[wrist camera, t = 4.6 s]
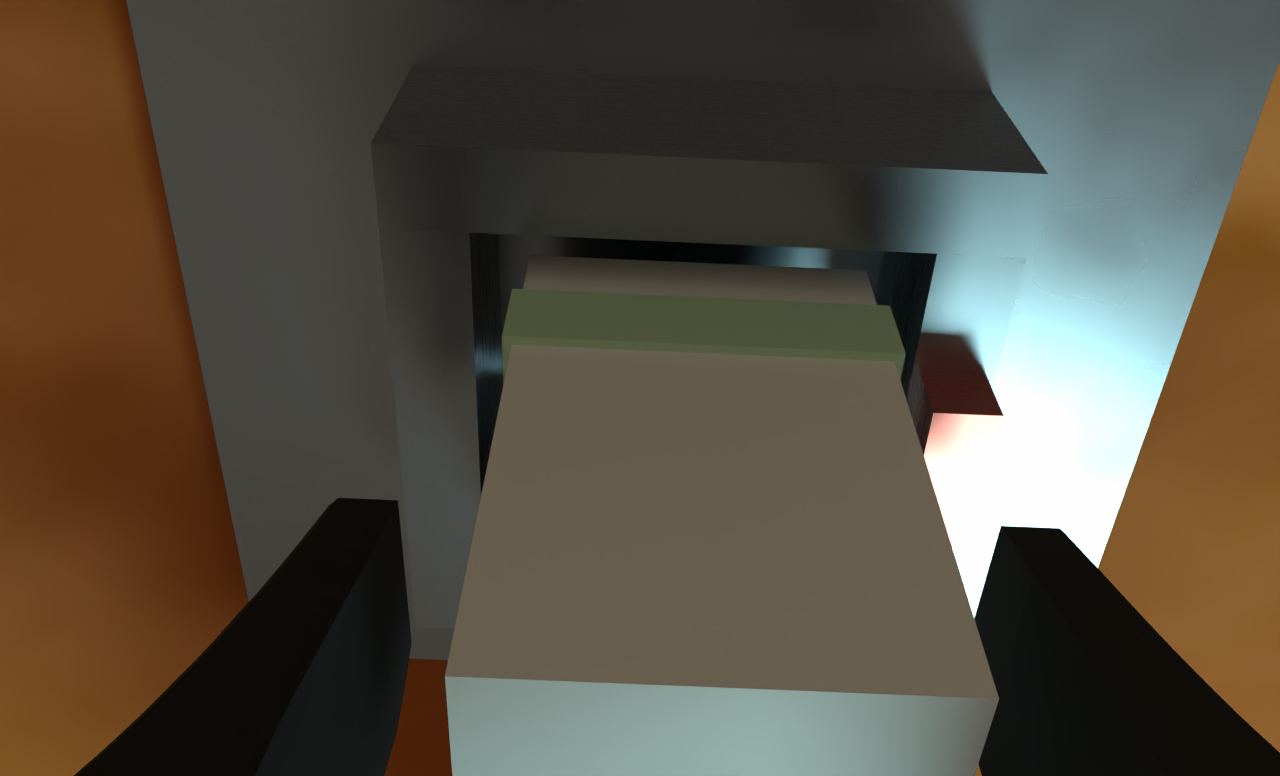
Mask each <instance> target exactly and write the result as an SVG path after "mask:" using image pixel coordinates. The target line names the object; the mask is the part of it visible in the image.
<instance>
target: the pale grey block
mask: <svg viewBox="0 0 1280 776" xmlns="http://www.w3.org/2000/svg"><path fill="white" fill-rule="evenodd" d="M905 355H906V353H905V350H904V347H903V344H902V341H901V338H900V335H899V332H898V329H897V326H896V323H895V320H894V317H893V314H892V311H891V308H890V306H887V305H877V303H876V300H875V297H874V294H873V290H872V287H871V284H870V281H869V278H868V274H867V271H866V270H848V269H826V268H803V267H781V266H759V265H737V264H715V263H693V262H670V261H648V260H626V259H604V258H582V257H559V256H537V255H530V256H529V261H528V266H527V271H526V276H525V281H524V286H523V289H512V292H511V296H510V301H509V305H508V310H507V315H506V319H505V324H504V328H503V333H502V358H503V390H502V395H501V400H500V405H499V410H498V415H497V420H496V425H495V430H494V435H493V440H492V445H491V450H490V455H489V460H488V465H487V470H486V475H485V480H484V485H483V490H482V495H481V500H480V504H479V509H478V514H477V519H476V524H475V529H474V534H473V539H472V544H471V549H470V554H469V559H468V564H467V569H466V574H465V579H464V584H463V589H462V594H461V599H460V604H459V609H458V614H457V619H456V624H455V629H454V634H453V639H452V644H451V649H450V653H449V658H448V663H447V668H446V673H445V685H446V698H447V711H448V724H449V737H450V751H451V764H452V776H975V773H976V769H977V766H978V763H979V760H980V757H981V754H982V751H983V748H984V745H985V741H986V738H987V735H988V732H989V729H990V726H991V723H992V720H993V717H994V713H995V710H996V707H997V704H998V701H999V697H998V693H997V690H996V687H995V684H994V681H993V677H992V674H991V671H990V668H989V664H988V661H987V658H986V655H985V652H984V648H983V645H982V642H981V639H980V635H979V632H978V629H977V626H976V623H975V619H974V616H973V613H972V610H971V606H970V603H969V600H968V597H967V594H966V590H965V587H964V584H963V581H962V577H961V574H960V571H959V568H958V565H957V561H956V558H955V555H954V552H953V548H952V545H951V542H950V539H949V536H948V532H947V529H946V526H945V523H944V519H943V516H942V513H941V510H940V506H939V503H938V500H937V497H936V494H935V490H934V487H933V484H932V481H931V477H930V474H929V471H928V468H927V465H926V461H925V458H924V455H923V452H922V448H921V445H920V442H919V439H918V436H917V432H916V429H915V426H914V423H913V419H912V416H911V413H910V410H909V407H908V403H907V400H906V397H905V394H904V390H903V387H902V384H901V381H900V379H901V374H902V369H903V365H904V360H905Z"/></svg>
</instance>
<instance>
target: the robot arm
mask: <svg viewBox="0 0 1280 776" xmlns="http://www.w3.org/2000/svg"><path fill="white" fill-rule="evenodd" d="M974 619H975V623H976V626H977V629H978V632H979V635H980V639H981V642H982V645H983V648H984V652H985V655H986V658H987V661H988V664H989V668H990V671H991V674H992V677H993V681H994V684H995V687H996V690H997V693H998V697H999V701H998V704H997V707H996V710H995V713H994V717H993V720H992V723H991V726H990V729H989V732H988V735H987V738H986V741H985V745H984V748H983V751H982V754H981V757H980V760H979V767H980V770H981V774H982V776H1280V753H1279V752H1278V751H1277V750H1276V749H1275V748H1274V747H1273V746H1272V745H1271V744H1270V743H1268V742H1267V741H1266V740H1265V739H1264V738H1263V737H1262V736H1261V735H1260V734H1259V733H1258V732H1257V731H1255V730H1254V729H1253V728H1252V727H1251V726H1250V725H1249V724H1248V723H1247V722H1246V721H1245V720H1244V719H1243V718H1241V717H1240V716H1239V715H1238V714H1237V713H1236V712H1235V711H1234V710H1233V709H1232V708H1231V707H1230V706H1229V705H1228V704H1227V703H1226V702H1225V701H1224V700H1223V699H1222V698H1221V697H1220V696H1219V695H1218V694H1217V693H1216V692H1215V691H1214V690H1213V689H1212V688H1211V687H1210V686H1209V685H1208V684H1207V683H1206V682H1205V681H1204V680H1203V679H1202V678H1201V677H1200V676H1199V675H1198V674H1197V673H1196V672H1195V671H1194V670H1193V669H1192V668H1191V667H1190V666H1189V665H1188V664H1187V663H1186V662H1185V661H1184V660H1183V659H1182V658H1181V657H1180V656H1179V655H1178V654H1177V653H1176V652H1175V651H1174V650H1173V649H1172V647H1171V646H1170V645H1169V644H1168V643H1167V642H1166V641H1165V640H1164V639H1163V638H1162V637H1161V636H1160V635H1159V634H1158V633H1157V632H1156V631H1155V630H1154V629H1153V628H1152V626H1151V625H1150V624H1149V623H1148V622H1147V621H1146V620H1145V619H1144V618H1143V617H1142V616H1141V615H1140V614H1139V612H1138V611H1137V610H1136V609H1135V608H1134V607H1133V606H1132V605H1131V604H1130V603H1129V602H1128V601H1127V600H1126V599H1125V597H1124V596H1123V595H1122V594H1121V593H1120V592H1119V591H1118V590H1117V589H1116V588H1115V587H1114V586H1113V584H1112V583H1111V582H1110V581H1109V580H1108V579H1107V578H1106V577H1105V576H1104V575H1103V574H1102V572H1101V571H1100V570H1099V569H1098V568H1097V567H1096V566H1095V565H1094V564H1093V563H1092V562H1091V560H1090V559H1089V558H1088V557H1087V556H1086V555H1085V554H1084V553H1083V552H1082V551H1081V550H1080V549H1079V548H1078V546H1077V545H1076V544H1075V543H1074V542H1073V541H1072V540H1071V539H1070V538H1069V537H1068V536H1067V535H1066V534H1065V533H1064V532H1063V531H1062V530H1061V529H1060V528H1040V527H1016V526H1001V527H1000V530H999V534H998V537H997V541H996V544H995V548H994V551H993V555H992V558H991V562H990V565H989V569H988V572H987V576H986V579H985V583H984V586H983V590H982V593H981V597H980V600H979V604H978V607H977V611H976V614H975V617H974ZM411 644H412V640H411V630H410V619H409V609H408V599H407V588H406V578H405V568H404V557H403V547H402V537H401V526H400V516H399V506H398V500H381V499H357V498H337V499H336V500H335V501H334V502H333V503H331V504H330V505H329V506H328V507H327V508H326V510H325V511H324V512H323V513H322V515H321V516H320V517H319V518H318V520H317V521H316V522H315V523H314V525H313V526H312V527H311V528H310V530H309V531H308V532H307V533H306V535H305V536H304V537H303V538H302V540H301V541H300V542H299V543H298V545H297V546H296V547H295V548H294V550H293V551H292V552H291V553H290V554H289V556H288V557H287V558H286V559H285V560H284V562H283V563H282V564H281V565H280V566H279V568H278V569H277V570H276V571H275V572H274V574H273V575H272V576H271V577H270V578H269V579H268V581H267V582H266V583H265V584H264V585H263V587H262V588H261V589H260V590H259V591H258V592H257V594H256V595H255V596H254V597H253V598H252V599H251V600H250V601H249V602H248V604H247V605H246V606H245V607H244V608H243V609H242V610H241V611H240V612H239V614H238V615H237V616H236V617H235V618H234V619H233V620H232V621H231V623H230V624H229V625H228V626H227V627H226V628H225V629H224V630H223V631H222V633H221V634H220V635H219V636H218V637H217V638H216V639H215V640H214V641H213V643H212V644H211V645H210V646H209V647H208V648H207V649H206V650H205V651H204V652H203V653H202V654H201V655H200V656H199V657H198V658H197V659H196V660H195V661H194V662H193V663H192V664H191V665H190V666H189V667H188V668H187V669H186V670H185V671H184V672H183V673H182V674H181V675H180V676H179V677H178V678H177V679H176V680H175V682H174V683H173V684H172V685H171V686H170V687H169V688H168V689H167V690H166V691H165V692H164V693H163V694H162V695H161V696H160V697H159V698H158V699H157V700H156V701H155V702H154V703H153V704H152V705H151V706H150V707H149V708H148V709H147V710H146V711H145V712H144V713H143V714H142V715H140V716H139V717H138V718H137V719H136V720H135V721H134V722H133V723H132V724H131V725H130V726H129V727H128V728H127V729H126V730H124V731H123V732H122V733H121V734H120V735H119V736H118V737H117V738H116V739H115V740H114V741H113V742H112V743H110V744H109V745H108V746H107V747H106V748H105V749H104V750H103V751H102V752H100V753H99V754H98V755H97V756H96V757H95V758H94V759H93V760H91V761H90V762H89V763H88V764H87V765H86V766H84V767H83V768H82V769H81V770H80V771H79V772H77V773H76V774H75V775H74V776H384V774H385V771H386V767H387V764H388V760H389V757H390V753H391V750H392V746H393V743H394V739H395V736H396V731H397V726H398V720H399V715H400V709H401V704H402V698H403V692H404V686H405V680H406V674H407V668H408V662H409V656H410V650H411Z"/></svg>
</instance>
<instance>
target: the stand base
mask: <svg viewBox="0 0 1280 776" xmlns="http://www.w3.org/2000/svg"><path fill="white" fill-rule="evenodd" d="M126 2H127V7H128V12H129V17H130V22H131V27H132V32H133V37H134V42H135V46H136V51H137V56H138V61H139V66H140V71H141V76H142V81H143V86H144V91H145V96H146V100H147V105H148V110H149V115H150V120H151V125H152V130H153V135H154V140H155V145H156V150H157V154H158V159H159V164H160V169H161V174H162V179H163V184H164V189H165V194H166V199H167V204H168V208H169V213H170V218H171V223H172V228H173V233H174V238H175V243H176V248H177V253H178V258H179V262H180V267H181V272H182V277H183V282H184V287H185V292H186V297H187V302H188V307H189V312H190V316H191V321H192V326H193V331H194V336H195V341H196V346H197V351H198V356H199V361H200V366H201V370H202V375H203V380H204V385H205V390H206V395H207V400H208V405H209V410H210V415H211V419H212V424H213V429H214V434H215V439H216V444H217V449H218V454H219V459H220V464H221V469H222V473H223V478H224V483H225V488H226V493H227V498H228V503H229V508H230V513H231V518H232V523H233V527H234V532H235V537H236V542H237V547H238V552H239V557H240V562H241V567H242V572H243V577H244V581H245V586H246V591H247V596H248V601H250V600H251V599H252V598H253V597H254V596H255V595H256V594H257V592H258V591H259V590H260V589H261V588H262V587H263V585H264V584H265V583H266V582H267V581H268V579H269V578H270V577H271V576H272V575H273V574H274V572H275V571H276V570H277V569H278V568H279V566H280V565H281V564H282V563H283V562H284V560H285V559H286V558H287V557H288V556H289V554H290V553H291V552H292V551H293V550H294V548H295V547H296V546H297V545H298V543H299V542H300V541H301V540H302V538H303V537H304V536H305V535H306V533H307V532H308V531H309V530H310V528H311V527H312V526H313V525H314V523H315V522H316V521H317V520H318V518H319V517H320V516H321V515H322V513H323V512H324V511H325V510H326V508H327V507H328V506H329V505H330V504H331V503H333V502H334V501H335V500H336V499H337V498H357V499H381V500H398V506H399V516H400V526H401V537H402V547H403V557H404V568H405V578H406V588H407V599H408V609H409V619H410V630H411V640H412V644H411V650H410V656H409V659H431V660H448V658H449V653H450V649H451V644H452V639H453V634H454V629H455V624H456V619H457V614H458V609H459V604H460V599H461V594H462V589H463V584H464V579H465V574H466V569H467V564H468V559H469V554H470V549H471V544H472V539H473V534H474V529H475V524H476V519H477V514H478V509H479V504H480V500H481V495H482V490H483V485H484V480H485V475H486V470H487V465H488V460H489V455H490V450H491V445H492V440H493V435H494V430H495V425H496V420H497V415H498V410H499V405H500V400H501V395H502V390H503V358H502V333H503V328H504V324H505V319H506V315H507V310H508V305H509V301H510V296H511V292H512V289H523V286H524V281H525V276H526V271H527V266H528V261H529V256H530V255H537V256H559V257H582V258H604V259H626V260H648V261H670V262H693V263H715V264H737V265H759V266H781V267H803V268H826V269H848V270H866V271H867V274H868V278H869V281H870V284H871V287H872V290H873V294H874V297H875V300H876V303H877V305H887V306H890V308H891V311H892V314H893V317H894V320H895V323H896V326H897V329H898V332H899V335H900V338H901V341H902V344H903V347H904V350H905V353H906V355H905V360H904V365H903V369H902V374H901V379H900V381H901V384H902V387H903V390H904V394H905V397H906V400H907V403H908V407H909V410H910V413H911V416H912V419H913V423H914V426H915V429H916V432H917V436H918V439H919V442H920V445H921V448H922V452H923V455H924V458H925V461H926V465H927V468H928V471H929V474H930V477H931V481H932V484H933V487H934V490H935V494H936V497H937V500H938V503H939V506H940V510H941V513H942V516H943V519H944V523H945V526H946V529H947V532H948V536H949V539H950V542H951V545H952V548H953V552H954V555H955V558H956V561H957V565H958V568H959V571H960V574H961V577H962V581H963V584H964V587H965V590H966V594H967V597H968V600H969V603H970V606H971V610H972V613H973V616H974V617H975V614H976V611H977V607H978V604H979V600H980V597H981V593H982V590H983V586H984V583H985V579H986V576H987V572H988V569H989V565H990V562H991V558H992V555H993V551H994V548H995V544H996V541H997V537H998V534H999V530H1000V527H1001V526H1016V527H1040V528H1060V529H1061V530H1062V531H1063V532H1064V533H1065V534H1066V535H1067V536H1068V537H1069V538H1070V539H1071V540H1072V541H1073V542H1074V543H1075V544H1076V545H1077V546H1078V548H1079V549H1080V550H1081V551H1082V552H1083V553H1084V554H1085V555H1086V556H1087V557H1088V558H1089V559H1090V560H1091V562H1092V563H1093V564H1094V565H1095V566H1096V567H1097V568H1098V565H1099V563H1100V560H1101V557H1102V554H1103V551H1104V549H1105V546H1106V543H1107V540H1108V537H1109V535H1110V532H1111V529H1112V526H1113V524H1114V521H1115V518H1116V515H1117V512H1118V510H1119V507H1120V504H1121V501H1122V498H1123V496H1124V493H1125V490H1126V487H1127V485H1128V482H1129V479H1130V476H1131V473H1132V471H1133V468H1134V465H1135V462H1136V459H1137V457H1138V454H1139V451H1140V448H1141V445H1142V443H1143V440H1144V437H1145V434H1146V432H1147V429H1148V426H1149V423H1150V420H1151V418H1152V415H1153V412H1154V409H1155V406H1156V404H1157V401H1158V398H1159V395H1160V393H1161V390H1162V387H1163V384H1164V381H1165V379H1166V376H1167V373H1168V370H1169V367H1170V365H1171V362H1172V359H1173V356H1174V354H1175V351H1176V348H1177V345H1178V342H1179V340H1180V337H1181V334H1182V331H1183V328H1184V326H1185V323H1186V320H1187V317H1188V314H1189V312H1190V309H1191V306H1192V303H1193V301H1194V298H1195V295H1196V292H1197V289H1198V287H1199V284H1200V281H1201V278H1202V275H1203V273H1204V270H1205V267H1206V264H1207V262H1208V259H1209V256H1210V253H1211V250H1212V248H1213V245H1214V242H1215V239H1216V236H1217V234H1218V231H1219V228H1220V225H1221V223H1222V220H1223V217H1224V214H1225V211H1226V209H1227V206H1228V203H1229V200H1230V197H1231V195H1232V192H1233V189H1234V186H1235V183H1236V181H1237V178H1238V175H1239V172H1240V170H1241V167H1242V164H1243V161H1244V158H1245V156H1246V153H1247V150H1248V147H1249V144H1250V142H1251V139H1252V136H1253V133H1254V131H1255V128H1256V125H1257V122H1258V119H1259V117H1260V114H1261V111H1262V108H1263V105H1264V103H1265V100H1266V97H1267V94H1268V92H1269V89H1270V86H1271V83H1272V80H1273V78H1274V75H1275V72H1276V69H1277V66H1278V64H1279V61H1280V0H126Z"/></svg>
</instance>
